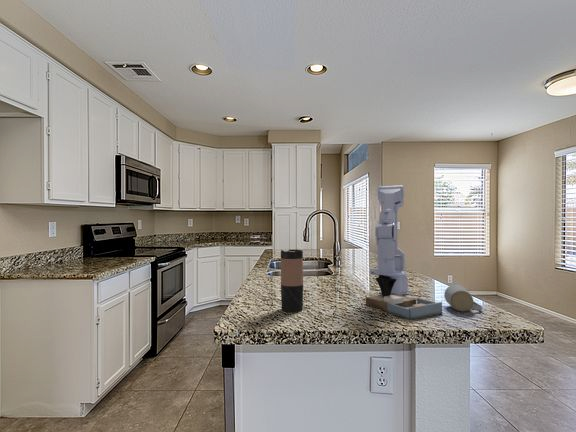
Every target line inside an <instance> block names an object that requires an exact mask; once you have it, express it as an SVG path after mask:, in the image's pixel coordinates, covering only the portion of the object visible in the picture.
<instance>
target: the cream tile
mask: <svg viewBox="0 0 576 432" xmlns="http://www.w3.org/2000/svg"><path fill="white" fill-rule="evenodd" d="M384 302H388V303H391V304H398V303H403V298H402V297H399V296H395V295H390V296H384Z"/></svg>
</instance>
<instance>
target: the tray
mask: <svg viewBox="0 0 576 432" xmlns="http://www.w3.org/2000/svg"><path fill="white" fill-rule="evenodd" d="M421 303H422V304H426V305H421V306H416V307H412V306H409V307H401V306H398V305H394V304H391V303H387V311H386V312H387V313H389V314H391V313H392V315H394V314H395V315H394V316H397V315H398V316H397V317H400V316H401V318H403V317H404V319H406V318H407V320H409V319H412V320H417V319H421V318H426V317H429V316H430V315H431V316H435V314H436V315H440V313H441V314H443V302H442V301H439V302H436V301H432V300H427V299H424V298H419V297H417V298H416V304H421ZM431 316H430V317H431ZM416 318H417V319H416Z"/></svg>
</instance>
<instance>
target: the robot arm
mask: <svg viewBox="0 0 576 432" xmlns="http://www.w3.org/2000/svg"><path fill="white" fill-rule="evenodd" d="M404 188H405V186H404V185H402V184H400V185H384V186H383V185H380V186H378V187H377V200H378V204H379V205H380V207H382V210H381V211H380V212H379V217H378V221H377V222H378V223H377V225H376V226H375V229H374V230H375V231H374V232H375V233H374V235H375V240H376V241H375V243H376V247H377V249H376V250H377V251H376V256H377V257H376V259H377V260H376V261H377V264H376V266H377V267H376V268H369V275H374V276H378V277H375V280H376V282H377V284H378V286H379V288H380V290H379V291H378V293H379V294H381V295H382V296H383V298H384V296H390V295H391V293H394V294H397V295H401V296H404V295H410V292H408V291H409V289H408V286H409V285H408V275H407V274H406V272H404V271H406V259H405V252H404V251H403V250H402V249H401V248H399V247H398V213H399V209H400V208H401V207H404V202H405V200H404V198H405V191H404V190H405V189H404Z"/></svg>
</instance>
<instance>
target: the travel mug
mask: <svg viewBox="0 0 576 432" xmlns="http://www.w3.org/2000/svg"><path fill="white" fill-rule="evenodd" d="M303 253H304V251H303V249H288V251H287V250H286V251H285V250H284V249H283V250H282V249H281V250H280V298H281V299H280V301H281V302H280V303H281V310H282V311H283V312H284V313H298V312H299V313H300V312H302V311H303V309H304V306H303V305H304V254H303Z"/></svg>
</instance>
